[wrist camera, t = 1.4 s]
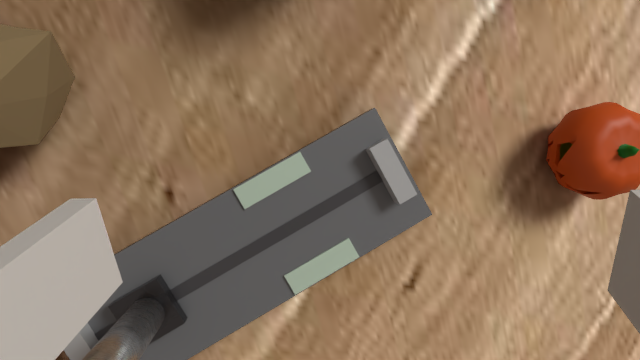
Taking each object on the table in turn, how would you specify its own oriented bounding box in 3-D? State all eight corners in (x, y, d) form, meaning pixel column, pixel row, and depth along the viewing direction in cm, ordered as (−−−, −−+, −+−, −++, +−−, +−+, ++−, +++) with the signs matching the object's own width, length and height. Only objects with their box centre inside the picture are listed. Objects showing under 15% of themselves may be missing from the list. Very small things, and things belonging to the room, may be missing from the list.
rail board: (115, 393, 36) (98, 419, 32) (48, 291, 35) (22, 307, 31) (423, 211, 38) (439, 217, 34) (369, 110, 37) (379, 105, 33)
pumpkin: (584, 91, 39) (657, 76, 32) (624, 166, 40) (704, 169, 33) (516, 135, 39) (573, 131, 31) (557, 210, 40) (623, 224, 32)
